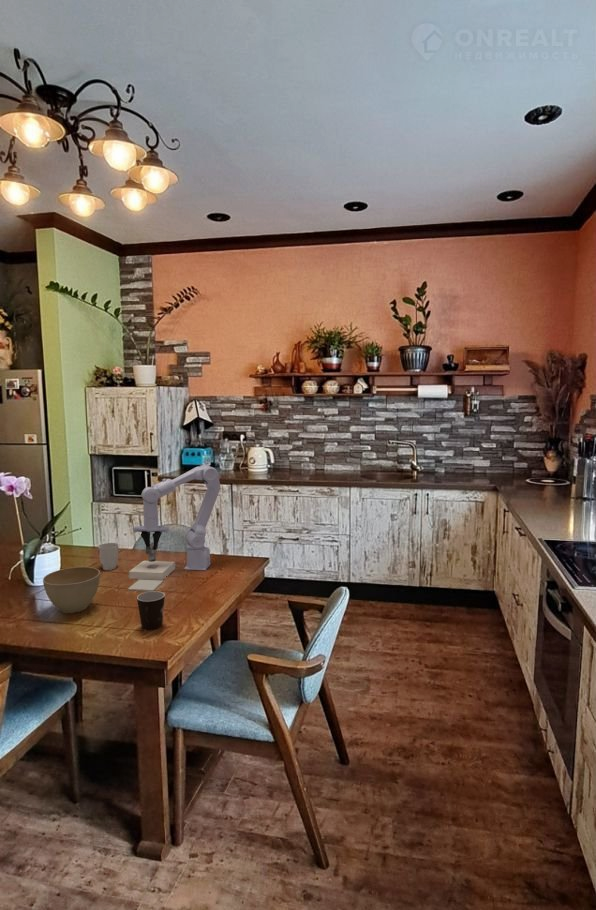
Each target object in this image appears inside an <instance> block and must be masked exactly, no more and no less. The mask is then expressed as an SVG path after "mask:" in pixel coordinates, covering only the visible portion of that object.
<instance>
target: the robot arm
mask: <svg viewBox="0 0 596 910" xmlns="http://www.w3.org/2000/svg"><path fill="white" fill-rule="evenodd" d="M161 480H162V481H160V482H158V483H156V484H154V483H153V484H151V486H148V487H144V489H143V490H142V492H141V494H140V496H141V498H142V501H143V505H142V507H143V508H142V509H143V511H142V513H143V526H142V525H141V526H140V525H139V526H134V527H132V530H133V531H132V532H133V533H140V537H141V538H142V540H143V542H144V545H145V548H146V547H147V546H149V545H150V544H151V535H152V539H153V543H154V550H156V549H157V546H158V547H159V542H160V538H161V536H162V534H163V533H165V534H166V533H167V534H168V533H170V526H162V525H159V505H158V500H159V499H161V498H163V497H165V496H167V495H169V494H171V493H173V492H175V490H176V488H177V487H179V486H181V485H184V484H186V483H188V482H190V481H193V480H198V481H203V483H204V485H205V487H206V491H205V494H204V496H203V499H202V502H201V503H200V507H199V509H198V512H197V514H196V518H195V519H194V523H192V524H191V526H190V528H189V530H187V531H186V532H185V534H184V539H185V542H187V545H186V565H185V567H184V568H183V570H187V571H192V570H193V571H206V570H207V569H208V568H209V567H210V566H211V565H212V564H211V552H210V551H211V549H210V547H207V546H205V543H206V535H207V529H206V528H207V525H208V523H209V520H210V517H211V515H212V513H213V510H214V507H215V503H216V502H217V498H218V496H219V493H220V491H221V483H220V482H221V481H220V473H219V472H218V470H217V469H216V468H215V467H213V466H210V465H208V464H205V463H203V464H201V465H199V466H196V467H193V468H192V469H190V470H188V471H186V472H185V473H183V474H180V475H179V476H177V477H175V478H173V479H171V478H163V479H161ZM151 533H152V534H151ZM157 550H158V549H157ZM157 550H156V551H157Z"/></svg>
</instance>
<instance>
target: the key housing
mask: <svg viewBox="0 0 596 910" xmlns="http://www.w3.org/2000/svg"><path fill="white" fill-rule="evenodd" d="M175 569H176V562H175V561H163V560H161V561H160V560H156V561H154V562H149V560H142V561H141V562H140V563H138V564H137V565H136V566H135V567H133V568H132V569H130V570H129V571H128V574H129V575H128V578H129V579H132V580H160V581H164V580H165V579H166V578H167V577H168V576H169V575H170V574H171V573H173V572H174V570H175ZM166 576H167V577H166ZM164 578H165V579H164ZM163 579H164V580H163Z"/></svg>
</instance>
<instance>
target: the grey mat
mask: <svg viewBox="0 0 596 910" xmlns="http://www.w3.org/2000/svg"><path fill="white" fill-rule="evenodd" d="M163 583H164V580H147V579H137V581H136V582H134V583H133V584H132V585H130V587H128V588H127V590H128V591H133V590H136V591H138V592H150V591H156V590H157V589H158V588H159V587H160V586H161V585H162V584H163ZM157 587H158V588H157Z"/></svg>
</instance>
